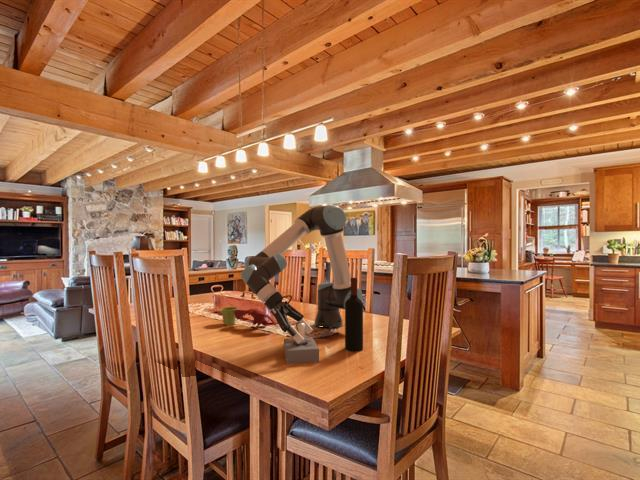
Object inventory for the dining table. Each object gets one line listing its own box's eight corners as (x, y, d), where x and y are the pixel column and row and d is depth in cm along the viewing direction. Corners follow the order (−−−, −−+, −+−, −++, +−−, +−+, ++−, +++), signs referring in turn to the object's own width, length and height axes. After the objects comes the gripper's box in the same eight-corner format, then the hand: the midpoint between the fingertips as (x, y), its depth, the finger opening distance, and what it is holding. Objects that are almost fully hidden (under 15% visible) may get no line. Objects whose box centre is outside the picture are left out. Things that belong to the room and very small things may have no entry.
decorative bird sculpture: (240, 332, 190) (225, 315, 182) (249, 318, 196) (235, 301, 187) (279, 340, 174) (265, 322, 165) (288, 325, 179) (274, 307, 171)
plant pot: (218, 326, 185) (218, 310, 185) (223, 322, 194) (223, 306, 194) (235, 326, 185) (235, 310, 185) (239, 322, 194) (239, 306, 194)
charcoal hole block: (312, 348, 147) (312, 337, 147) (319, 362, 131) (319, 348, 131) (283, 350, 144) (283, 338, 144) (287, 364, 129) (287, 350, 129)
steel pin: (304, 351, 140) (304, 321, 140) (306, 354, 136) (306, 324, 136) (294, 352, 139) (294, 322, 139) (296, 355, 135) (295, 324, 135)
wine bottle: (341, 348, 147) (341, 278, 147) (352, 344, 152) (352, 276, 152) (355, 352, 142) (355, 279, 142) (366, 348, 147) (366, 277, 147)
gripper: (275, 298, 153) (308, 334, 150) (251, 309, 129) (289, 352, 126) (287, 286, 152) (320, 323, 148) (264, 295, 128) (303, 339, 124)
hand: (306, 336), depth 137 cm, fingers open, 13 cm apart
